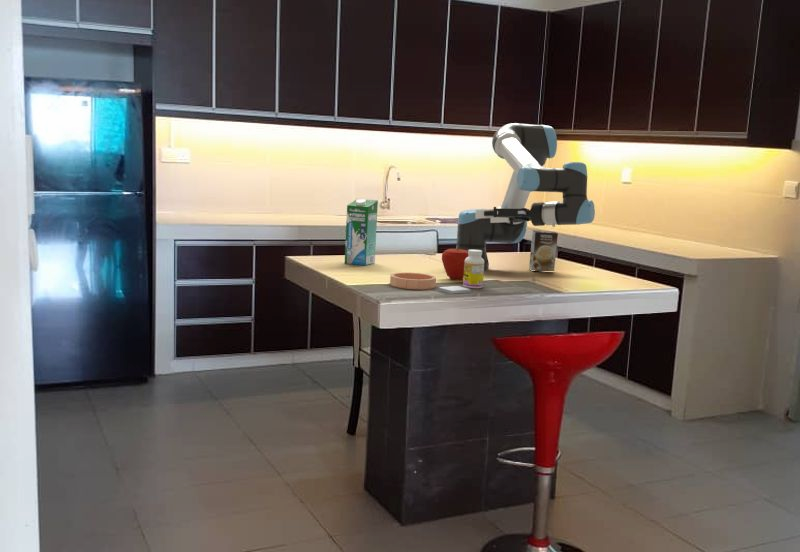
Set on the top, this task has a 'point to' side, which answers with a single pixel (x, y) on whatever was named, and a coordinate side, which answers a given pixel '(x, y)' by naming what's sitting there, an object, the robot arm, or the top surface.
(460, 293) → the mat
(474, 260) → the supplement bottle
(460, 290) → the light grey flat block
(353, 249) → the milk carton
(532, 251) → the coffee box
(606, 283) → the top surface
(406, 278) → the bowl
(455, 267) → the apple
